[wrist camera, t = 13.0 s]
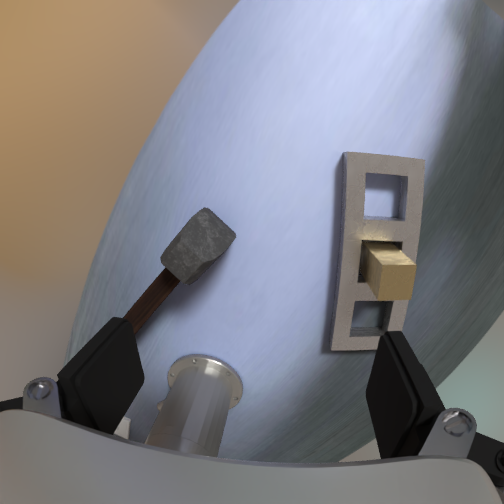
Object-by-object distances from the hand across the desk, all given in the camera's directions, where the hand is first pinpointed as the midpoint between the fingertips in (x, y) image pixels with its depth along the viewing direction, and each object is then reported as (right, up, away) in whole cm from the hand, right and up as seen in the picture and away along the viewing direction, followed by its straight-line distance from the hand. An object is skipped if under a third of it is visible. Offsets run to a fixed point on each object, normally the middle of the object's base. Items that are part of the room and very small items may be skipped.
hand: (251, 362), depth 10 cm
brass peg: (+16, +3, +27) cm, 32 cm away
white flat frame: (+16, +4, +27) cm, 32 cm away
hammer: (-13, -1, +32) cm, 35 cm away
